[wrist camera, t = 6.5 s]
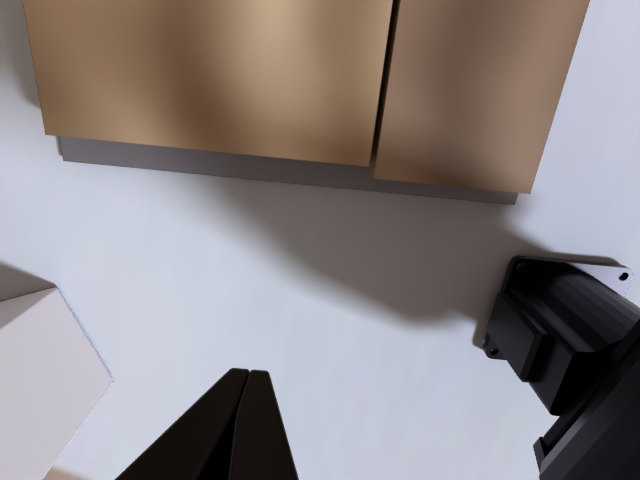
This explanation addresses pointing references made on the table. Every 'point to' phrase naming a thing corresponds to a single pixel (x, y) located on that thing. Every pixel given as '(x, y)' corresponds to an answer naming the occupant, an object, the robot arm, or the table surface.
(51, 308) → the milk carton
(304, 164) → the underlay mat
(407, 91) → the walnut plank
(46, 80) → the oak plank
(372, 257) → the table surface
